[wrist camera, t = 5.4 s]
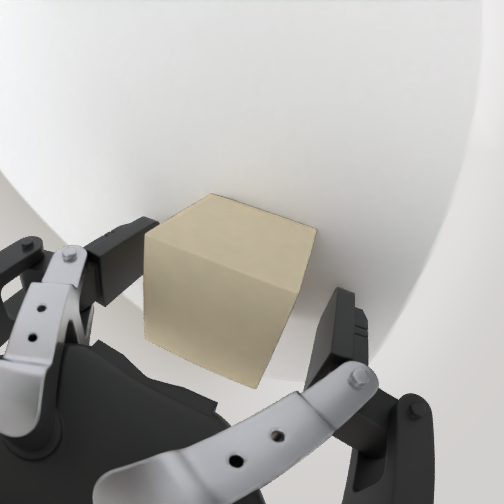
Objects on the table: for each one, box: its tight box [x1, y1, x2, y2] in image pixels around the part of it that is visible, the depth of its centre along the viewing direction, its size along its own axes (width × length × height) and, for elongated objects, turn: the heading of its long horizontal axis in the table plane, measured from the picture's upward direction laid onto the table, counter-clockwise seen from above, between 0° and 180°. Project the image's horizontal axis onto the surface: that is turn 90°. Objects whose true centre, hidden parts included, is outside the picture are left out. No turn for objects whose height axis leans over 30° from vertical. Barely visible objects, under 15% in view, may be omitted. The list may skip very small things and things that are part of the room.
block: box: [143, 194, 317, 389], centre depth 10 cm, size 4×4×4 cm
